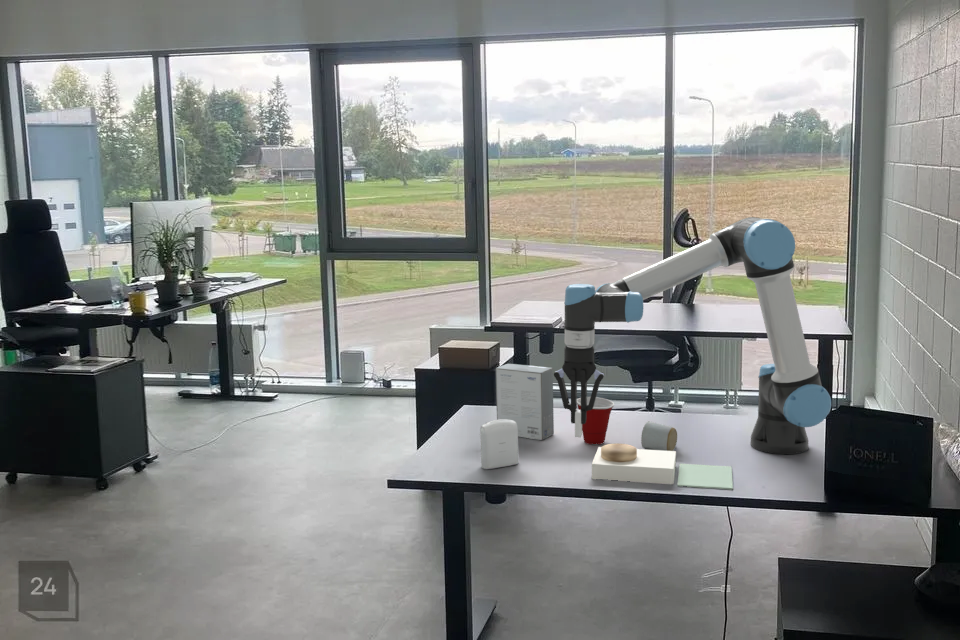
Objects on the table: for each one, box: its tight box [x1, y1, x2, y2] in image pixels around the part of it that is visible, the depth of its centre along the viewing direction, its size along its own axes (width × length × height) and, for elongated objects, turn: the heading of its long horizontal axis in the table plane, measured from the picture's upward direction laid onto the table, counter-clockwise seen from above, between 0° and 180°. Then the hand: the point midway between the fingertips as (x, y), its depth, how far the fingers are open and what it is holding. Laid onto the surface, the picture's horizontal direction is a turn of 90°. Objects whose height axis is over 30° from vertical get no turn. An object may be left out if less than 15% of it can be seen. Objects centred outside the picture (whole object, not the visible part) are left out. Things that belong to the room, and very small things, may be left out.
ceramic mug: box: [640, 420, 678, 451], centre depth 251 cm, size 11×8×8 cm
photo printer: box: [479, 419, 519, 470], centre depth 240 cm, size 10×4×12 cm, turn 112°
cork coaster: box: [600, 443, 638, 462], centre depth 233 cm, size 9×9×2 cm
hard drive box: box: [495, 363, 555, 441], centre depth 266 cm, size 16×8×20 cm, turn 58°
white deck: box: [591, 446, 677, 485], centre depth 233 cm, size 20×14×4 cm
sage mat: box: [676, 463, 734, 491], centre depth 229 cm, size 13×16×1 cm
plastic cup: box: [577, 396, 615, 445], centre depth 258 cm, size 11×11×12 cm
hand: (578, 435), depth 235 cm, fingers closed
